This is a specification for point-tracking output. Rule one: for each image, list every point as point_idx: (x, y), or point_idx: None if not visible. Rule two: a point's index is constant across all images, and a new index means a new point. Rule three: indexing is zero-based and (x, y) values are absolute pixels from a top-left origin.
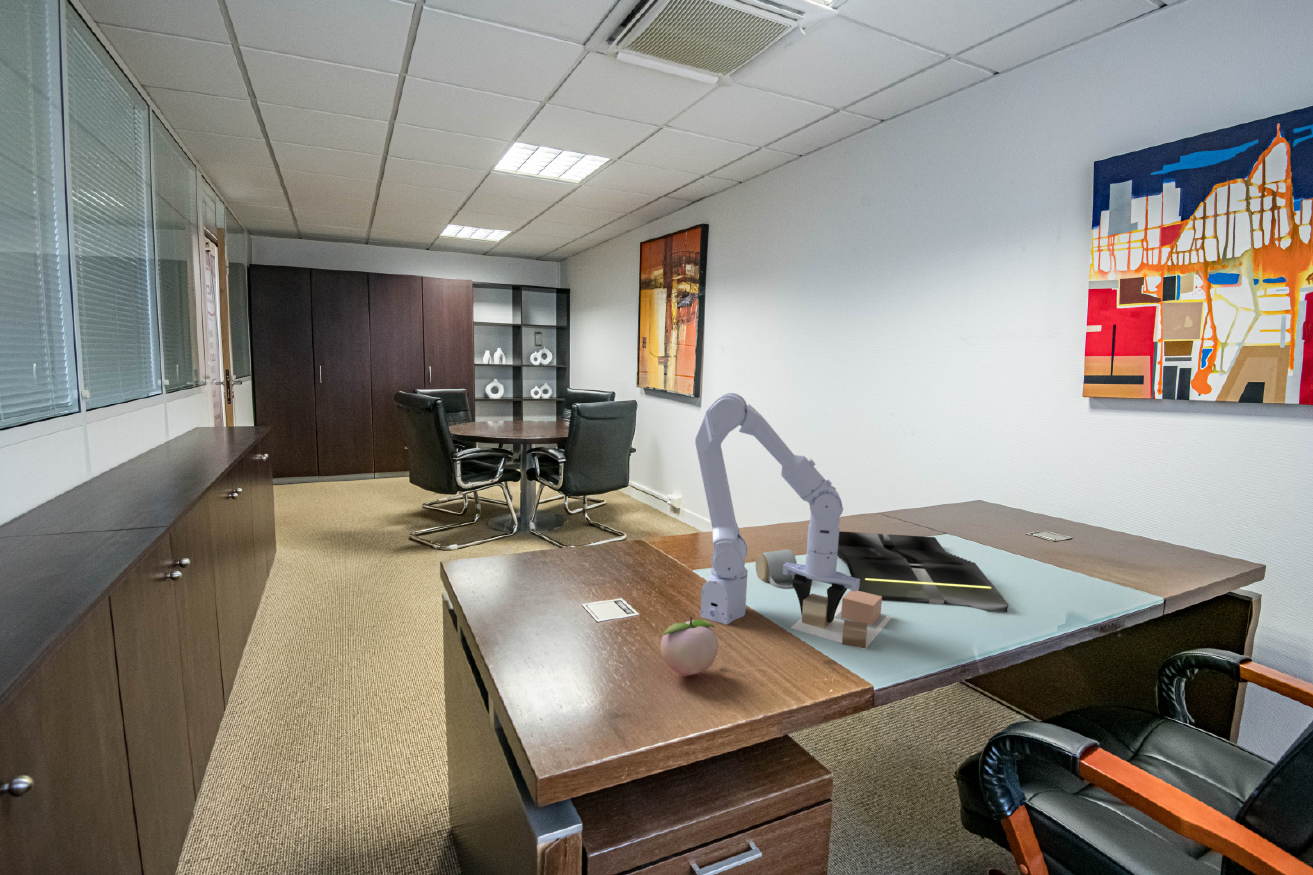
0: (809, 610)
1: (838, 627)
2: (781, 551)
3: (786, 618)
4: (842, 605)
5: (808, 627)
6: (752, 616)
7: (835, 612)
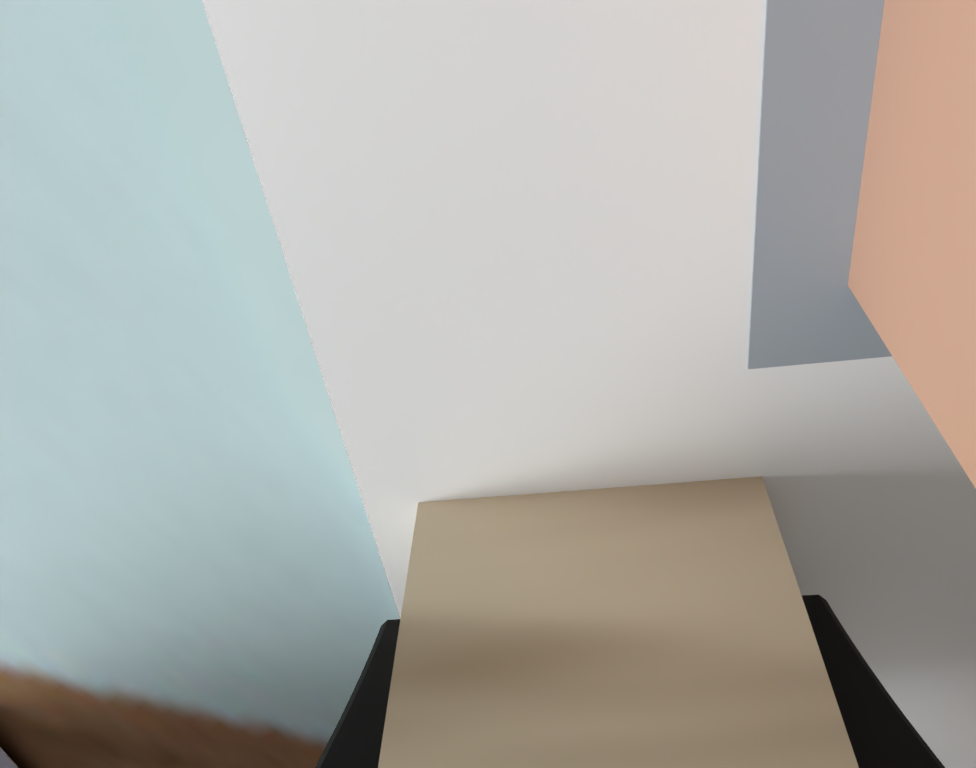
0: None
1: (895, 578)
2: None
3: (233, 603)
4: (954, 428)
5: None
6: (17, 733)
7: (879, 684)
